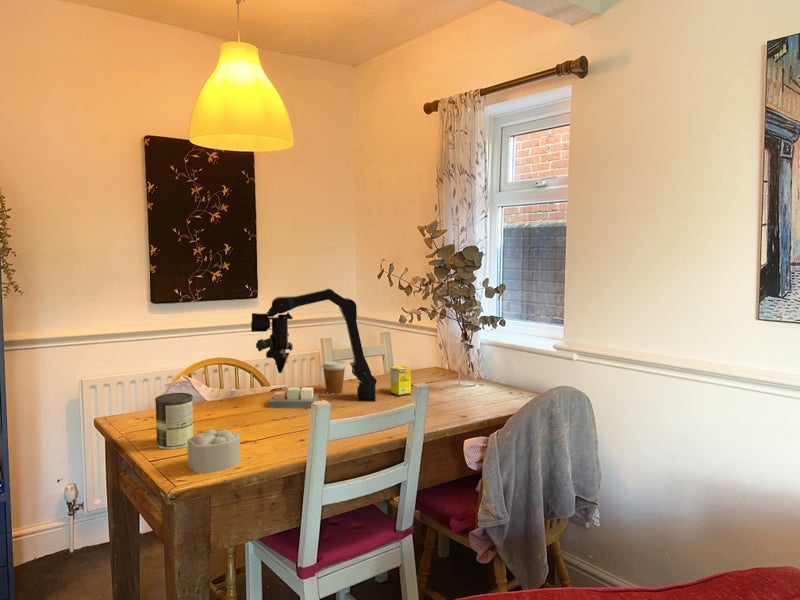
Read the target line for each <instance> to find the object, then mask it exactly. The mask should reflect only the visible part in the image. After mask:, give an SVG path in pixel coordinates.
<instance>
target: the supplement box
mask: <svg viewBox="0 0 800 600" xmlns="http://www.w3.org/2000/svg"><path fill="white" fill-rule="evenodd" d="M411 369H412V368H411V367H407V366H405V365H397V366H390V394H391V395H394V396H396V397H404V396H410V395H411V389H412V388H411V384H412V383H411V382H412V381H411V380H412V379H411V378H412V376H411V375H412V370H411Z"/></svg>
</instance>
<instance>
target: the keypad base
mask: <svg viewBox="0 0 800 600" xmlns="http://www.w3.org/2000/svg"><path fill="white" fill-rule="evenodd" d="M318 399H319V395H318V394H313V399H312V400H301V394H300V399H299V400H287V398H286V399H274V395H273V396H272V397H271V398H269V401H268V409H269V408H270V409H271V408H272V409H311V408H310V407H311V404H312V403H313V402H314V401H317V400H318ZM318 401H319V400H318ZM318 401H317V402H318Z"/></svg>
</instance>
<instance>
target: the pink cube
mask: <svg viewBox="0 0 800 600" xmlns="http://www.w3.org/2000/svg"><path fill="white" fill-rule="evenodd" d="M273 396H274V399H286V398H287V391H275V392H274V393H273Z"/></svg>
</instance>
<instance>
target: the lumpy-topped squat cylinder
mask: <svg viewBox="0 0 800 600" xmlns="http://www.w3.org/2000/svg"><path fill="white" fill-rule="evenodd" d="M240 436H241V435H240V434H239V433H236V432H234V431H230V430H228V429H221V430H219V431H218V430H217V431H216V430H214V429H211V428H210V429H209V428H208V429H206V430H204V432H203V433H197V434H195V435H193V437H191V438H189V439H188V440H187V444H188V446H187V447H186V448H187V467H188V466H189V467H190V468H189V467H188V468H189V469H191V471H192V470H193V471H192V472H193V473H194V472H195V473H194V474H196V473H199V474H198V475H204V473H206V474H211V473H216V472H219V471H225V470H228V469H232V468H234V467H236V466H237V465H238V464H239V463H240V462H241V443H240V442H241V440H240ZM200 473H202V474H200Z"/></svg>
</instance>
